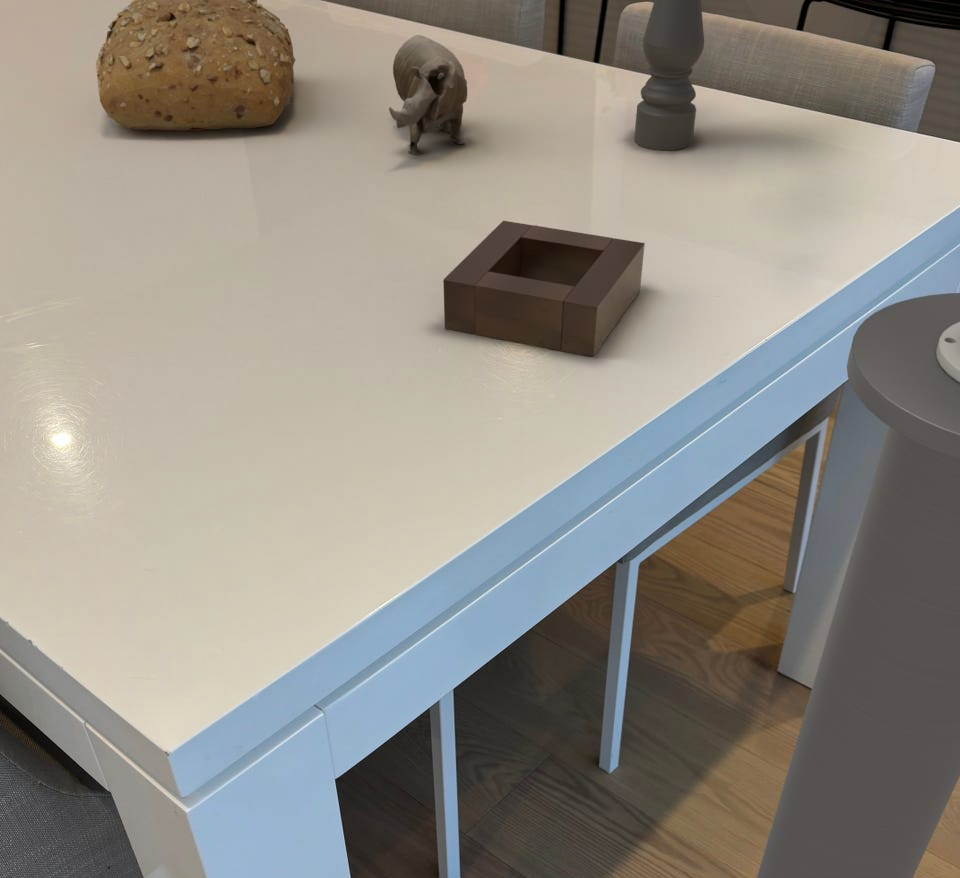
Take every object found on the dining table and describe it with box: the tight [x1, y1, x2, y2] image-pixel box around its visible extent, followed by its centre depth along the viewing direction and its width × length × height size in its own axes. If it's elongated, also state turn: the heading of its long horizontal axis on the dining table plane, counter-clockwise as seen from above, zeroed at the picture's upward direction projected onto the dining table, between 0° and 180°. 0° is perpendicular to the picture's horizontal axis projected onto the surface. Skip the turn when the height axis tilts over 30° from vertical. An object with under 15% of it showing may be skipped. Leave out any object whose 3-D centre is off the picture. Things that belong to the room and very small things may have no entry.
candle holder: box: [633, 0, 705, 151], centre depth 107 cm, size 6×6×25 cm
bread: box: [95, 0, 296, 132], centre depth 121 cm, size 24×21×12 cm
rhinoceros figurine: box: [388, 34, 468, 156], centre depth 113 cm, size 8×14×15 cm
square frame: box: [442, 220, 645, 358], centre depth 85 cm, size 12×12×4 cm
